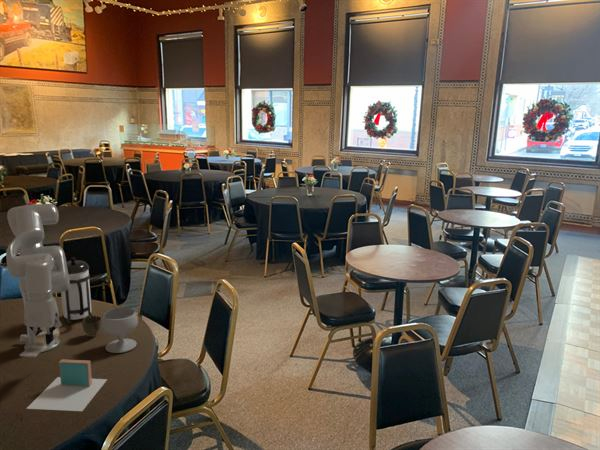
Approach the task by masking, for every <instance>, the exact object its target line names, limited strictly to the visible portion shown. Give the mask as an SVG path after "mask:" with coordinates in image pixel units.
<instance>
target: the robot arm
mask: <svg viewBox="0 0 600 450" xmlns="http://www.w3.org/2000/svg"><path fill="white" fill-rule="evenodd" d="M6 217H7V222H8V225H9V228H10V229H11V231H12V234H13V235H14V237H15V238H13V239H12V240H11V242H10V243H9V244H8V247H7V248H6V253H5V254H6V255H5V257H6V259H5V260H6V269H7V272H8V274H9V276H11V277H13V278H19V280H18V285H19V286H18V287H19V290H20V294H21V296H22V300H23V301H22V302H23V307H24V310H23V311H24V313H23V315H24V326H25V327H26V332H27V334H21V335H20V336H19V342H21V343H23V342H24V343H25V344H24V347H23V348H24V351H25V350H27V349H28V348H29V347H31V346H32V345H36V344H35V336H36V335H38V334H40V333H41V332H42V331H44V330H45V329H46V332H47V334H46V344H47V345H46V346H47V348H46V349H45V350H43V351H42V352H41V353H44V352H47V351H50V350H53V349H55V348H56V347H58V346H59V344H60V338H59V336H58V337H57V338H55V339H54V338H53V331H54V330H55V329H57V328H59V329H60V328H61V327H62V326H63V324H62V322H61V320H60V315H59V313H60V312H59V307H58V305H57V304H58V303H57V301H56V297H54V296H53V294H57V293H59V294H60V293H61V292H64V291H66V290H68V289H69V286H70V280H69V274H68V269H67V263H66V262H67V258H66V254H65V251H64V249H63V248H62V247H61V246H59V245H49V246H48V245H46V246H44V245H43V244H44V243H43V241H44V239H45V230H44V226H49V225H57V224H58V222H59V219H60V218H59V217H60V215H59V210H58V208H57V206H56V205H55V204H54V203H39V204H38V203H37V204H36V203H35V204H26V205H25V204H24V205H20V206H15V207H11V208H10V209H8V211H7V215H6ZM18 254H19V255H18ZM53 339H54V340H53Z"/></svg>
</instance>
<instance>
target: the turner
mask: <svg viewBox="0 0 600 450" xmlns="http://www.w3.org/2000/svg"><path fill="white" fill-rule="evenodd" d="M46 334H47V332H46V329H45V330H44V331H42V332H41V333H40V334H38V335H36V336H35V344H36V345H32V346H31V347H29V348H28V349H27V350H25V349H24V351H23V352H21V353H20V354H19V357H27V358H28V357H29V358H36V357H38V355H39V354H41V353H43V352H42V351H43V350H45V349H46V348H47V346H46V345H47V344H46ZM59 336H60V328H57V329H55V330H54V331H53V338H54V339H55V338H57V337H58V338H59ZM54 339H53V340H54Z"/></svg>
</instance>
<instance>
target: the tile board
mask: <svg viewBox="0 0 600 450" xmlns="http://www.w3.org/2000/svg"><path fill="white" fill-rule="evenodd" d="M107 381H108V378H107V379H106V378H105V379H104V378H92V385H91V386H90V387H84V386H63V385H61V378H60V376H57V377H56V378H55V379H54V380H53V381H52V382H51V383H50V384H49V385H48V386H47V387H46V388H45V389H44V390H43V391H42V392H41V393H40V394H39V395H38V396H37V397H36V398H35V400H33V401H32V402H31V403H30V404H29V405H28V406H27V407H26V408H25V409H27V410H47V411H67V412H70V411H71V412H83V411H84V410H85V408H86V407H88V405H89V404H90V402H91V401H92V399H93V398H94V397H95V396H96V394H97V393H98V392H99V391H100V390H101V388H102V387H103V386H104V385H105V383H106V382H107Z"/></svg>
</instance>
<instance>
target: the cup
mask: <svg viewBox="0 0 600 450" xmlns="http://www.w3.org/2000/svg"><path fill="white" fill-rule="evenodd" d="M101 323H102V318H101V316H98V315H97V316H96V315H92V317H90V315H89V318H88V317H85V318H82V320H81V324H82V328H83V332H84V333H85V334H87V337H88V338H95V337H96V336H97V335H98V332H99V331H100V329H101Z"/></svg>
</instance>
